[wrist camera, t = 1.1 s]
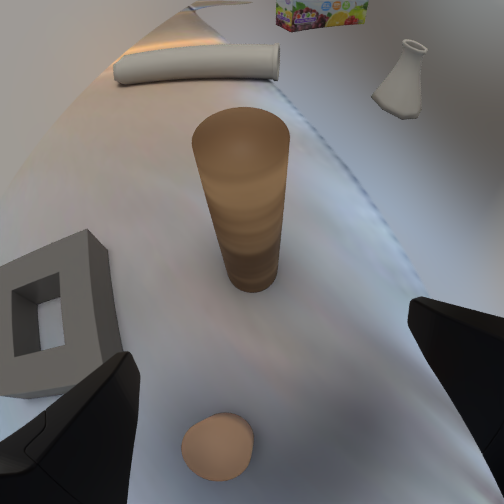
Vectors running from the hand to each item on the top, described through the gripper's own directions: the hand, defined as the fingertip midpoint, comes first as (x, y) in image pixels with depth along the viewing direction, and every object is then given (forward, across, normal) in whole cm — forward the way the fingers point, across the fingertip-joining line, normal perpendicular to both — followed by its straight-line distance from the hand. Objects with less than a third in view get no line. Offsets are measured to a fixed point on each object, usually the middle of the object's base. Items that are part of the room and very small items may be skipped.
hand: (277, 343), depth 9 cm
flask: (+29, -24, -10) cm, 39 cm away
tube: (+38, +3, -18) cm, 42 cm away
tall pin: (+15, 0, +4) cm, 16 cm away
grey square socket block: (+13, +18, +6) cm, 23 cm away
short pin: (+6, +4, +13) cm, 15 cm away
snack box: (+51, -24, -32) cm, 64 cm away
